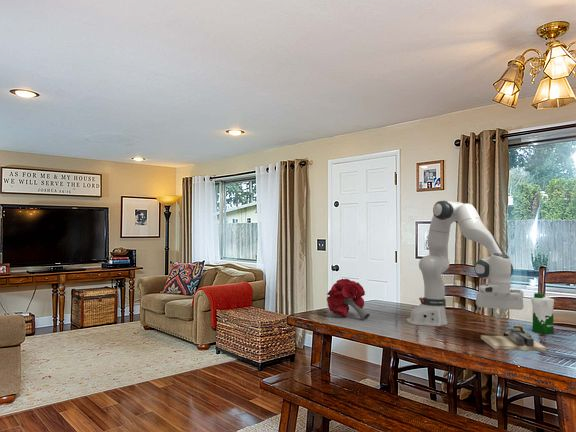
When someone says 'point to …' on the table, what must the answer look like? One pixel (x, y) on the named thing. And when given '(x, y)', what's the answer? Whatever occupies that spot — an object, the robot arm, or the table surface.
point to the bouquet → (346, 298)
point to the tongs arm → (516, 339)
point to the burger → (518, 331)
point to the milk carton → (542, 314)
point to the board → (510, 344)
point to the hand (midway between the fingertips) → (498, 317)
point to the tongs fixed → (527, 339)
